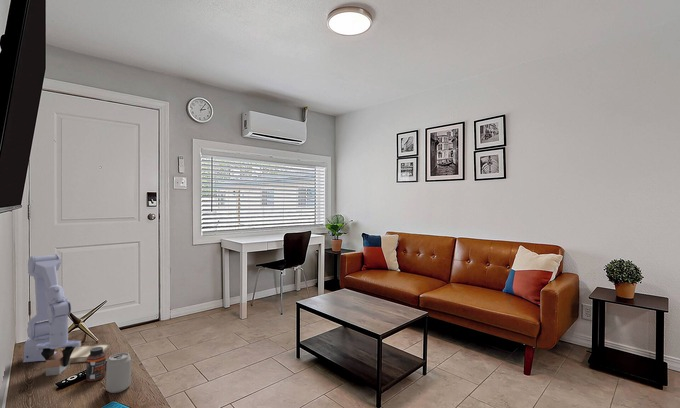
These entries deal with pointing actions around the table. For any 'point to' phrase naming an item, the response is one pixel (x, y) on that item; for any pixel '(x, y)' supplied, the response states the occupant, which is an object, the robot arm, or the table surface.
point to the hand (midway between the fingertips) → (58, 366)
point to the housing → (55, 364)
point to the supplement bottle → (96, 364)
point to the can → (118, 372)
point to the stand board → (85, 352)
